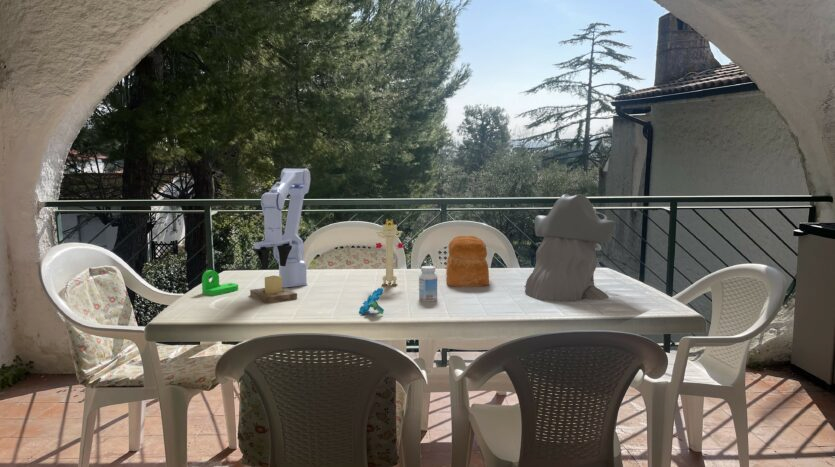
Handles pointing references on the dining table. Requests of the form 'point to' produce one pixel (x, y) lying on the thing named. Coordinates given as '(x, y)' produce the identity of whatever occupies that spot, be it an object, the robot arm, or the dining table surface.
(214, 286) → the mechanical part
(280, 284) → the sand colored cuboid
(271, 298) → the brown square frame
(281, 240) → the robot arm
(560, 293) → the bust
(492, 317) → the dining table surface
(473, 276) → the bread
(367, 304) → the blue flower
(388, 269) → the cat figure
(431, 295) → the pill bottle
